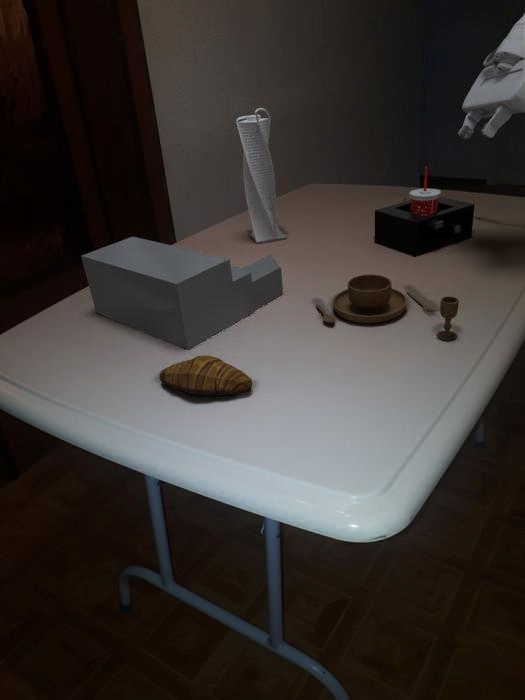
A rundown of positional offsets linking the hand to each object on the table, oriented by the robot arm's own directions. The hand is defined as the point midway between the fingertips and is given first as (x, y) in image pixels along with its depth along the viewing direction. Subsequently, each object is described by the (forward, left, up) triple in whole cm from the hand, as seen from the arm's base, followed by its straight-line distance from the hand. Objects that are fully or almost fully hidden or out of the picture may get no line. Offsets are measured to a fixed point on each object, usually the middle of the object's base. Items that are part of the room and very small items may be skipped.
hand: (473, 136), depth 94 cm
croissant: (+58, +8, -23) cm, 63 cm away
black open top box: (-4, -14, -22) cm, 27 cm away
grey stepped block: (+48, -19, -23) cm, 57 cm away
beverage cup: (-4, -14, -22) cm, 26 cm away
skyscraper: (+19, -40, -23) cm, 50 cm away
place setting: (+27, +8, -23) cm, 37 cm away
